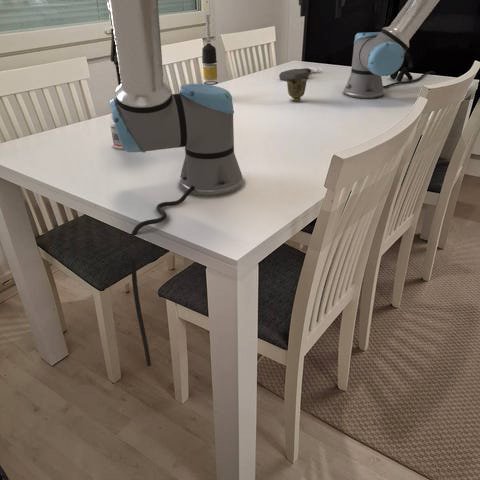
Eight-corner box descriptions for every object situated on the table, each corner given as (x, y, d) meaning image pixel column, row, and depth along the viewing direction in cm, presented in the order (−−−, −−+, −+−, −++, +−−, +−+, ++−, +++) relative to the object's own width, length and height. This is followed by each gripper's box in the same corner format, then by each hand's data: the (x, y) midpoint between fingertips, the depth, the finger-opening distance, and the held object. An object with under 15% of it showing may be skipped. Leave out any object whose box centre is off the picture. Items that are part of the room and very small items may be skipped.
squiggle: (400, 92, 202) (376, 71, 205) (417, 76, 202) (392, 56, 205) (405, 81, 191) (380, 59, 194) (423, 64, 191) (397, 42, 194)
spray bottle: (276, 79, 206) (305, 70, 222) (296, 82, 200) (324, 73, 216) (277, 72, 204) (305, 64, 220) (297, 75, 198) (325, 67, 214)
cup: (283, 102, 172) (284, 80, 168) (290, 97, 178) (291, 76, 173) (301, 104, 169) (302, 82, 165) (308, 99, 175) (309, 78, 170)
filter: (220, 99, 177) (217, 15, 161) (206, 100, 176) (202, 16, 160) (215, 96, 182) (212, 14, 166) (202, 97, 180) (197, 14, 164)
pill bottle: (125, 141, 137) (120, 109, 132) (135, 145, 134) (131, 113, 129) (110, 146, 134) (104, 113, 129) (120, 150, 131) (114, 117, 126)
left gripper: (90, 8, 124) (103, 86, 136) (132, 15, 108) (144, 103, 119) (115, 6, 128) (126, 82, 140) (159, 12, 112) (168, 98, 123)
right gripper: (284, -56, 145) (283, 16, 157) (355, -61, 132) (348, 19, 143) (296, -56, 150) (295, 14, 162) (366, -61, 137) (359, 16, 148)
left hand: (134, 92), depth 129 cm, fingers open, 13 cm apart
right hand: (320, 16), depth 152 cm, fingers open, 13 cm apart
